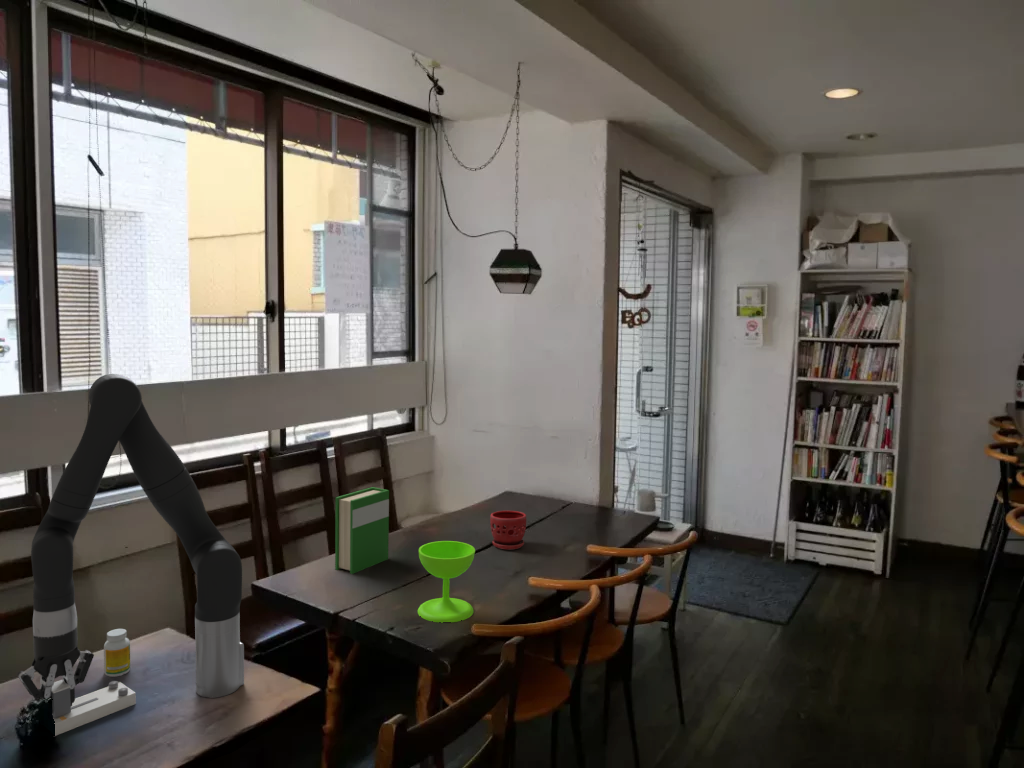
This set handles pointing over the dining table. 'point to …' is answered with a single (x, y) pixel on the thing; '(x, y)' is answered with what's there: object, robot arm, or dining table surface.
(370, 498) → the hardback book
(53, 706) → the fader tab
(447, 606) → the wineglass
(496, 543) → the plant pot
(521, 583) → the dining table surface
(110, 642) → the supplement bottle
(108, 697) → the console
